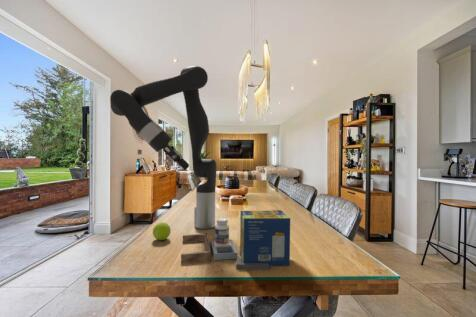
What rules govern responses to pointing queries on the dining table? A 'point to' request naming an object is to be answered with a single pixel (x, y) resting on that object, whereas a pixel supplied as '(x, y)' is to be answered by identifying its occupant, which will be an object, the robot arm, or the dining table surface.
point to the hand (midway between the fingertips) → (187, 167)
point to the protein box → (265, 237)
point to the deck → (224, 251)
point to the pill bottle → (222, 232)
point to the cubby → (196, 255)
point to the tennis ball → (161, 231)
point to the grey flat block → (251, 265)
